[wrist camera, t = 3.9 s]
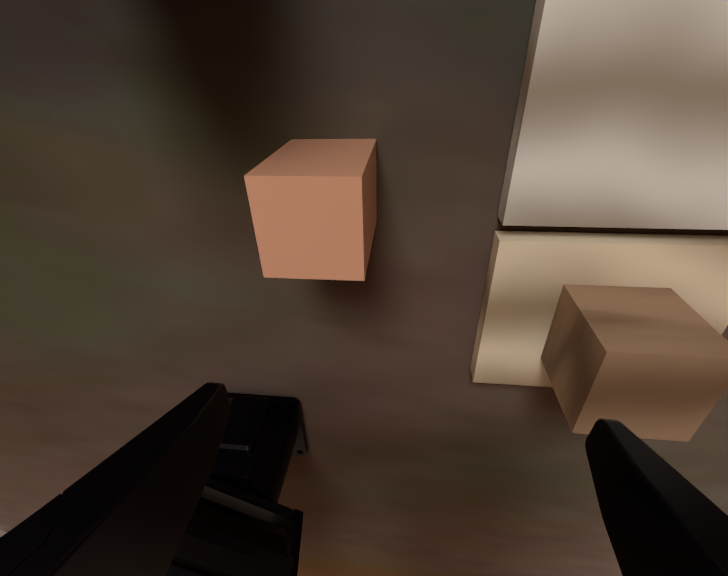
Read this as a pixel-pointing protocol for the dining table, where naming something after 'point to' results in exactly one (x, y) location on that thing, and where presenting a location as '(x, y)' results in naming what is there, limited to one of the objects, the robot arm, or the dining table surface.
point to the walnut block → (634, 360)
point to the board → (610, 170)
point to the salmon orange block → (315, 208)
